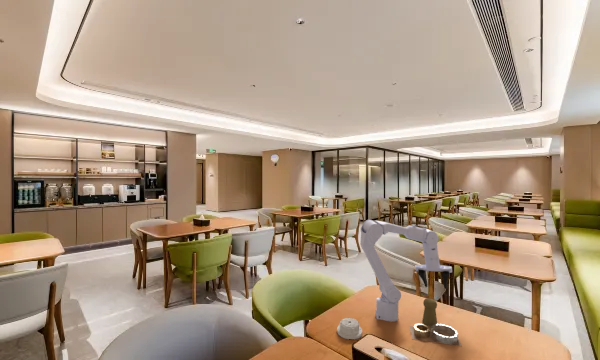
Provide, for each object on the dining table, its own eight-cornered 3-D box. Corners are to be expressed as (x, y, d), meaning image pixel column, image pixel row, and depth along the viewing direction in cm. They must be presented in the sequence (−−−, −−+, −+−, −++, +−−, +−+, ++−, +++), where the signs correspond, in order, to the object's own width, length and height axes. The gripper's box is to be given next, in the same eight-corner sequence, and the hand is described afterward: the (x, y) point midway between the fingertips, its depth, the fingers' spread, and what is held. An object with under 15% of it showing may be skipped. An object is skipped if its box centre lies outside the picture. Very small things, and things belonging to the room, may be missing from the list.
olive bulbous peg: (439, 330, 116) (440, 303, 115) (423, 328, 117) (424, 302, 117) (435, 322, 122) (436, 297, 121) (420, 320, 123) (420, 295, 123)
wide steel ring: (433, 342, 107) (433, 335, 107) (429, 328, 116) (429, 322, 115) (460, 345, 104) (460, 339, 104) (453, 331, 113) (454, 325, 113)
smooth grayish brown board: (412, 341, 109) (412, 339, 109) (409, 328, 117) (409, 326, 117) (461, 348, 104) (461, 346, 104) (455, 334, 113) (455, 332, 113)
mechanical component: (367, 332, 115) (346, 323, 122) (367, 322, 115) (346, 313, 122) (352, 343, 108) (332, 332, 115) (352, 332, 108) (332, 322, 115)
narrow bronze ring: (415, 337, 110) (415, 330, 110) (413, 328, 115) (413, 322, 115) (430, 339, 109) (430, 332, 108) (428, 330, 114) (428, 324, 114)
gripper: (450, 254, 124) (455, 284, 125) (415, 253, 132) (419, 281, 133) (449, 260, 118) (454, 291, 119) (412, 258, 126) (417, 288, 127)
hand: (435, 286), depth 125 cm, fingers open, 7 cm apart
